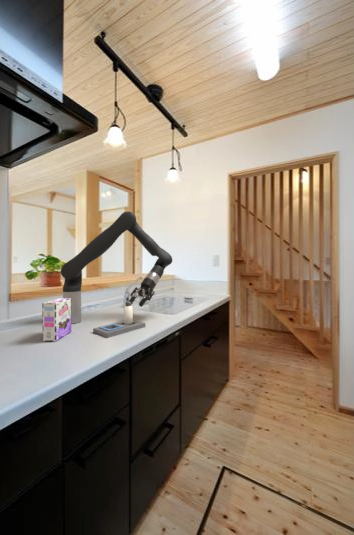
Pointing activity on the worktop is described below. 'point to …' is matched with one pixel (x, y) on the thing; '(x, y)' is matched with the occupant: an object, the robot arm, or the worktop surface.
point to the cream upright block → (128, 313)
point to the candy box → (56, 319)
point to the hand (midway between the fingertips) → (134, 304)
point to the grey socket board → (117, 328)
